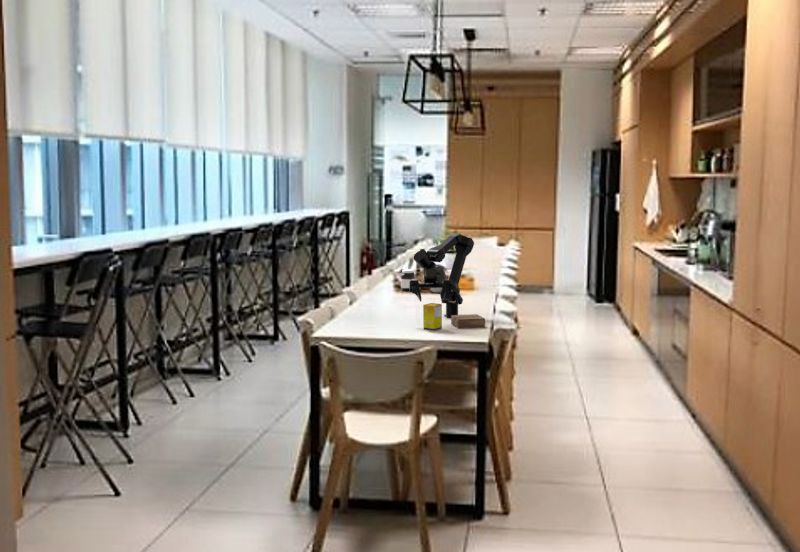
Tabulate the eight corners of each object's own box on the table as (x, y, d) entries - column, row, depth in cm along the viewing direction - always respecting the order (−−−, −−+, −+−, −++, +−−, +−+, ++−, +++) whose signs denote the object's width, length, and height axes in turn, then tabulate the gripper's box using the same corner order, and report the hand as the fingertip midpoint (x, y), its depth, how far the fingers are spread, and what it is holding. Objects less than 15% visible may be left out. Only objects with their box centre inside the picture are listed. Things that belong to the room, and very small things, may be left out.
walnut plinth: (451, 324, 411) (451, 315, 410) (476, 323, 413) (476, 314, 413) (458, 328, 399) (458, 319, 398) (484, 327, 401) (484, 318, 401)
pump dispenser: (426, 293, 512) (426, 266, 510) (433, 290, 522) (432, 264, 520) (443, 294, 508) (443, 266, 506) (450, 291, 518) (450, 264, 516)
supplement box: (431, 327, 403) (431, 302, 401) (442, 328, 399) (442, 303, 398) (422, 329, 398) (422, 304, 397) (433, 330, 394) (433, 305, 393)
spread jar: (404, 288, 531) (403, 268, 530) (423, 289, 528) (423, 269, 527) (398, 291, 520) (398, 271, 518) (418, 292, 517) (417, 271, 515)
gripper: (409, 262, 405) (410, 290, 396) (451, 261, 406) (454, 289, 396) (408, 277, 414) (409, 305, 404) (450, 277, 415) (452, 305, 405)
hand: (431, 301), depth 402 cm, fingers open, 9 cm apart
